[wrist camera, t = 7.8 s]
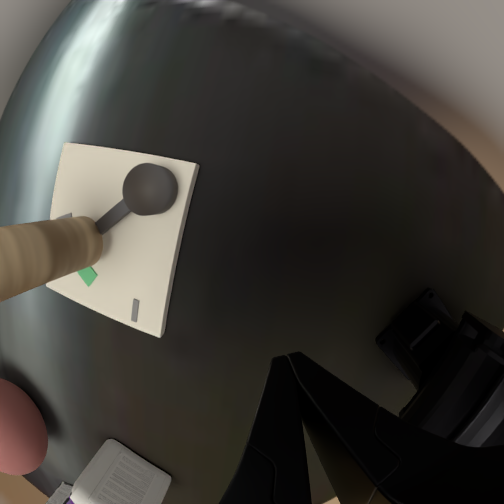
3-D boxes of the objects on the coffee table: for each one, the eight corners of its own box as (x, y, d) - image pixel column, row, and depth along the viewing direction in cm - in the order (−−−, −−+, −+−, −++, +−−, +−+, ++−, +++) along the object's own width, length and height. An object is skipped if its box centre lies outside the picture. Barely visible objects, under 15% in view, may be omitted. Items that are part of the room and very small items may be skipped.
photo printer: (102, 443, 27) (60, 501, 15) (110, 433, 26) (64, 496, 14) (164, 483, 27) (136, 546, 15) (177, 476, 27) (149, 545, 15)
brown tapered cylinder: (158, 147, 19) (11, 94, 5) (192, 206, 19) (46, 218, 6) (64, 229, 21) (-64, 257, 7) (90, 280, 21) (-35, 341, 8)
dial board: (70, 143, 21) (62, 142, 19) (199, 165, 20) (195, 163, 19) (52, 283, 23) (44, 286, 22) (164, 332, 23) (159, 338, 21)
